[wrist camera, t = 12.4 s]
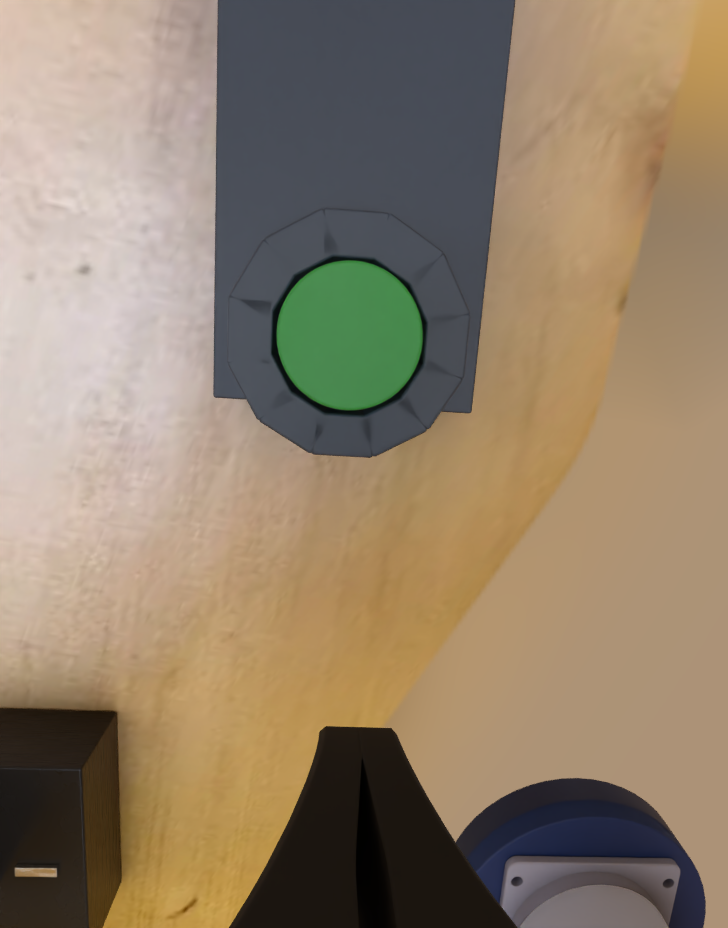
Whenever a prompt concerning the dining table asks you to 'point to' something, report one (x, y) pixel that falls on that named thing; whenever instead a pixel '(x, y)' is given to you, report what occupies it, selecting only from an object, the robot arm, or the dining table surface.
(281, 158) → the button block
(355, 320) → the button
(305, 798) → the robot arm
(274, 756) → the dining table surface
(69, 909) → the control panel
